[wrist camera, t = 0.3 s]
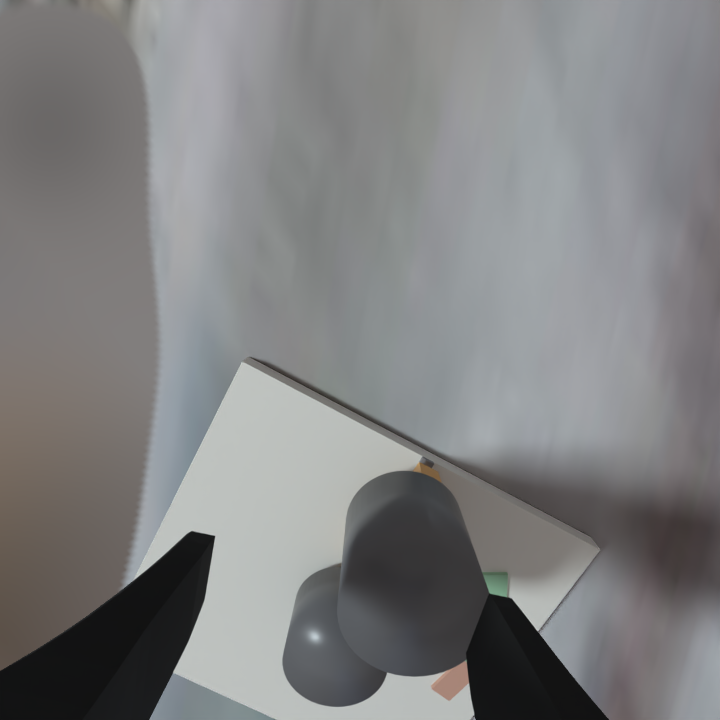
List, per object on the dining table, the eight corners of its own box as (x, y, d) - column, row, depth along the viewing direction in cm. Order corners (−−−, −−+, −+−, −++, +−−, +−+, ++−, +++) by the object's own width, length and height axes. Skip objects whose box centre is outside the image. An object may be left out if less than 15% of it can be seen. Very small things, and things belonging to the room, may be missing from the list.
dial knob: (363, 660, 22) (360, 808, 16) (274, 617, 22) (237, 753, 16) (477, 490, 20) (522, 588, 14) (380, 439, 20) (384, 518, 14)
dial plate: (418, 765, 26) (420, 789, 25) (113, 625, 24) (100, 643, 23) (590, 537, 22) (602, 552, 21) (248, 356, 21) (241, 362, 20)
